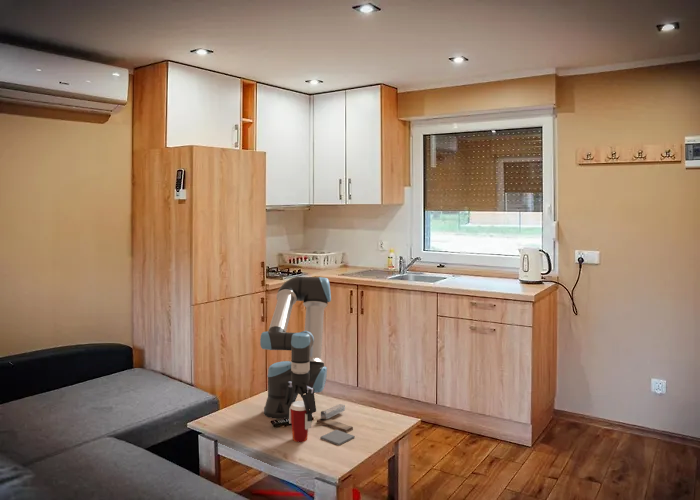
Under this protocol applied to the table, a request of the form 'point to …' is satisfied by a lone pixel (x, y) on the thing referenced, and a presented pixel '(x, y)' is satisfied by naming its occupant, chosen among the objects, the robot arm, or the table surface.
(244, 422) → the table surface
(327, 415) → the bar
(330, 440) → the slate pad
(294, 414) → the coffee cup
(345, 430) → the base
